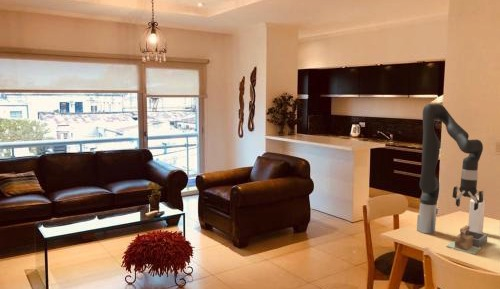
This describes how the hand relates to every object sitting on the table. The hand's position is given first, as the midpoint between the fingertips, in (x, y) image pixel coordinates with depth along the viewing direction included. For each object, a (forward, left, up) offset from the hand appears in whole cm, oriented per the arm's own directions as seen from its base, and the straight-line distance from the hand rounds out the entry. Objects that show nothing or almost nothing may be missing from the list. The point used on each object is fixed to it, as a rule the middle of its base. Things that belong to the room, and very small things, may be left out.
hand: (466, 208), depth 216 cm
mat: (0, 0, -22) cm, 22 cm away
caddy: (0, 0, -21) cm, 21 cm away
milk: (-5, +31, -22) cm, 38 cm away
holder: (0, +13, -22) cm, 26 cm away
